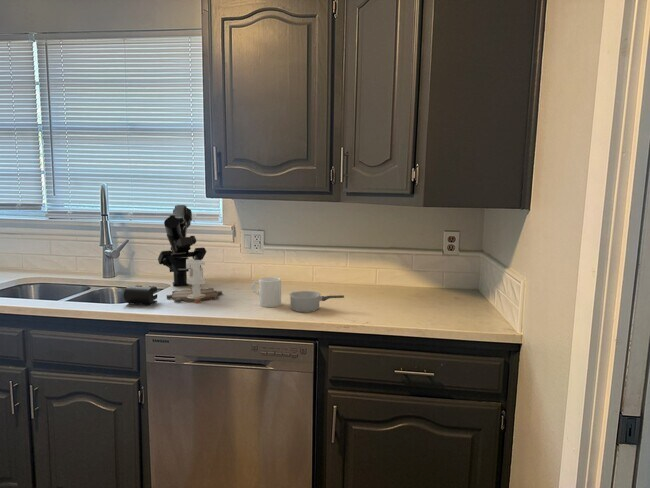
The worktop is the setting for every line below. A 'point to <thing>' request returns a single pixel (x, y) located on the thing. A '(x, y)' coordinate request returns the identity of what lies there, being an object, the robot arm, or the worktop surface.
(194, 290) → the light grey tall piece
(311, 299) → the saucepan
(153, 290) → the end cap
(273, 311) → the worktop surface
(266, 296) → the mug
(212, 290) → the sprocket plate
